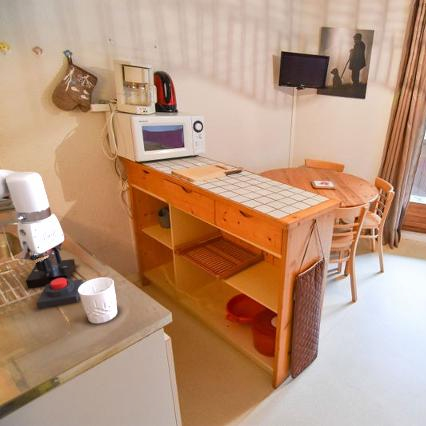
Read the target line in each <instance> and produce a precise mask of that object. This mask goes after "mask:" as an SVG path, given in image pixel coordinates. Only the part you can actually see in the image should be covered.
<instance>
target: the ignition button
mask: <svg viewBox="0 0 426 426" xmlns="http://www.w3.org/2000/svg"><path fill="white" fill-rule="evenodd" d="M50 284H51V287H52V289H54V290H56V289H61V288H63V287H65V286H67V281H66V279H65V278H57V279H55V280H53V281H51V283H50Z"/></svg>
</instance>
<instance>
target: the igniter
mask: <svg viewBox="0 0 426 426" xmlns="http://www.w3.org/2000/svg"><path fill="white" fill-rule="evenodd" d="M65 279H66V278H65ZM66 281H67V286H65V287H63V288H61V289H56V290H54V289H52V287H51V284H50V283H49V284H46V286H44V287H43V289H42V292H41V293H40V295H39V297H38V299H37V301H36V306H37V308H38V309H40V310H41V309H46V308H51V307H57V306H62V305H63V306H65V305H68V304H74V303H75V304H76V303H78V302H79V299H80V295H79V292H78V288H79V287H80V286H81V285H82V284H83V283H84V279H83V278H79V279H74V280H73V279H71V278H70V279H66Z"/></svg>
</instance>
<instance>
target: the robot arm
mask: <svg viewBox="0 0 426 426" xmlns="http://www.w3.org/2000/svg"><path fill="white" fill-rule="evenodd" d="M8 196H10V198H11V201H12V205H13V206H14V207H13V208H14V210H15V214H16V216H15V217H14V221H16V222H17V234H18V235H17V236H18V239H19V243H20V247H21V250H22V251H21V254H20V259H21V260H30V261H33V262H34V264H35V265H36V267H37V270H38V271H44V272H47V271H49V269H48V266H47V262H46V260H41V261H39V262H37V263H35V261H34V260H36V259H38V258H41V257H43V253H44V252H46V251H47V250H49V249H52V250H54V252H55V255H56V259H57V262H58V263H62V260H63V259H62V257H61V253H60V252H61V250H62V248H61V247H62V244H63V242H64V241H65V239H66V235H64V231H63V229H62V226H61V224H60V222H59V220H58V218H57V216H56V215H55V213H54V212H52V210H51V207H50V203H49V200H48V195H47V193H46V189H45V185H44V181H43V178H42V176H41V175H40V174H39V173H38V172H35V171H15V170H9V169H3V168H0V199H3V198H6V197H8Z"/></svg>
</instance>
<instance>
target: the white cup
mask: <svg viewBox="0 0 426 426" xmlns="http://www.w3.org/2000/svg"><path fill="white" fill-rule="evenodd" d="M78 292H79V295H80V297H79V299H80V301H81V305H82V307H83V310H84V312H85V314H86V316H87V319H88V321H89V322H90V323H91V324H95V325H96V324H103V323H106V322H108V321H109V322H110V321H111V320H112V319H113V318H115V317H116V316H117V315H118V307H117V304H118V303H117V296H116V295H117V294H116V289H115V281H114V279H112V278H111V277H105V276H103V277H102V276H101V277H96V278H92V279H89V280H87V281H85V282H83V284H82V285H81V286H80V287H79V288H78Z"/></svg>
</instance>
